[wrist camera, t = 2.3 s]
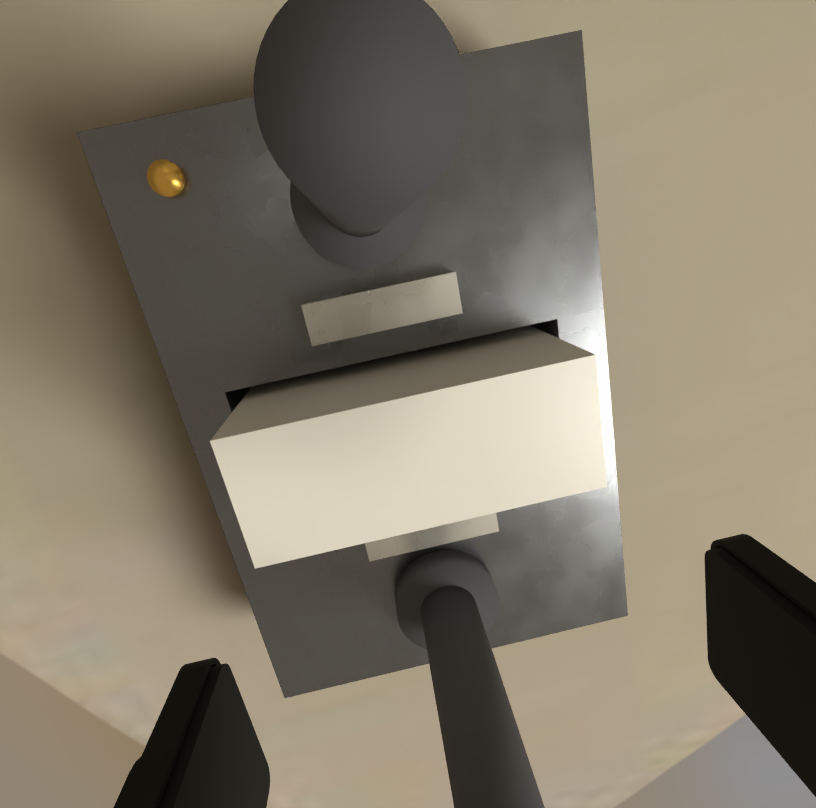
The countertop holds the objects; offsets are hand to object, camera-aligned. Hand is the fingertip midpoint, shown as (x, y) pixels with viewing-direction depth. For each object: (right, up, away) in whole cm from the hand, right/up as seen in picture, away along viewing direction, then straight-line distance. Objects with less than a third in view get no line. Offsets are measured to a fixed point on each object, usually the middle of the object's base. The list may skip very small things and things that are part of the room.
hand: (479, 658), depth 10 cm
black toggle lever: (0, -4, +15) cm, 15 cm away
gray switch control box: (-2, +6, +18) cm, 19 cm away
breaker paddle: (-2, +5, +14) cm, 15 cm away
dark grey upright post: (-3, +12, +9) cm, 16 cm away
